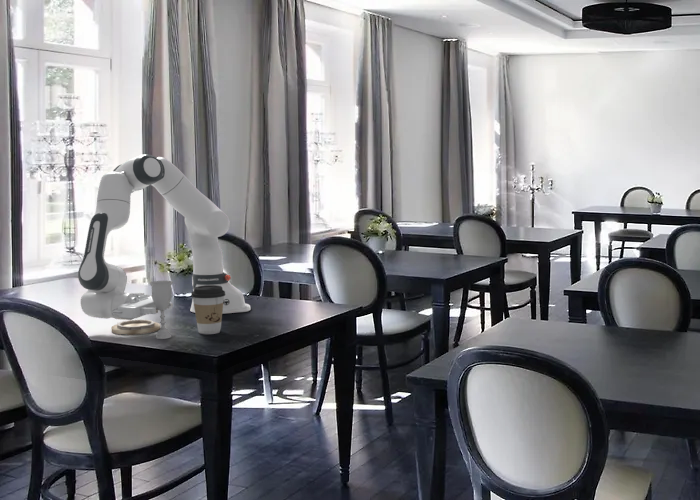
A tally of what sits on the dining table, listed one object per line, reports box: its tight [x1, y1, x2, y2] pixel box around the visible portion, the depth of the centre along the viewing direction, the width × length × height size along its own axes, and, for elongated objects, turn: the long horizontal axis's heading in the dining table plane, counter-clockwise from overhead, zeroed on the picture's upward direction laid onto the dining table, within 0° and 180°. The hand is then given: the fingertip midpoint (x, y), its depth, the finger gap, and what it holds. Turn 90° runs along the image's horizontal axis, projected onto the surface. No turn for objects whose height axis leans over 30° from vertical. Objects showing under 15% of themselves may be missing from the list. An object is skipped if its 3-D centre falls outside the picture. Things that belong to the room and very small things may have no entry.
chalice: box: [149, 280, 174, 340], centre depth 274 cm, size 7×7×18 cm
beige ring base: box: [111, 318, 161, 336], centre depth 287 cm, size 16×16×2 cm
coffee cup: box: [190, 285, 225, 335], centre depth 282 cm, size 11×11×15 cm
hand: (164, 308), depth 274 cm, fingers open, 8 cm apart
